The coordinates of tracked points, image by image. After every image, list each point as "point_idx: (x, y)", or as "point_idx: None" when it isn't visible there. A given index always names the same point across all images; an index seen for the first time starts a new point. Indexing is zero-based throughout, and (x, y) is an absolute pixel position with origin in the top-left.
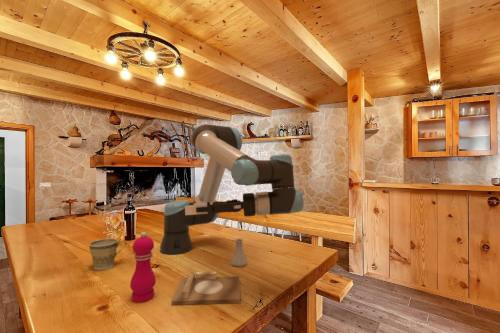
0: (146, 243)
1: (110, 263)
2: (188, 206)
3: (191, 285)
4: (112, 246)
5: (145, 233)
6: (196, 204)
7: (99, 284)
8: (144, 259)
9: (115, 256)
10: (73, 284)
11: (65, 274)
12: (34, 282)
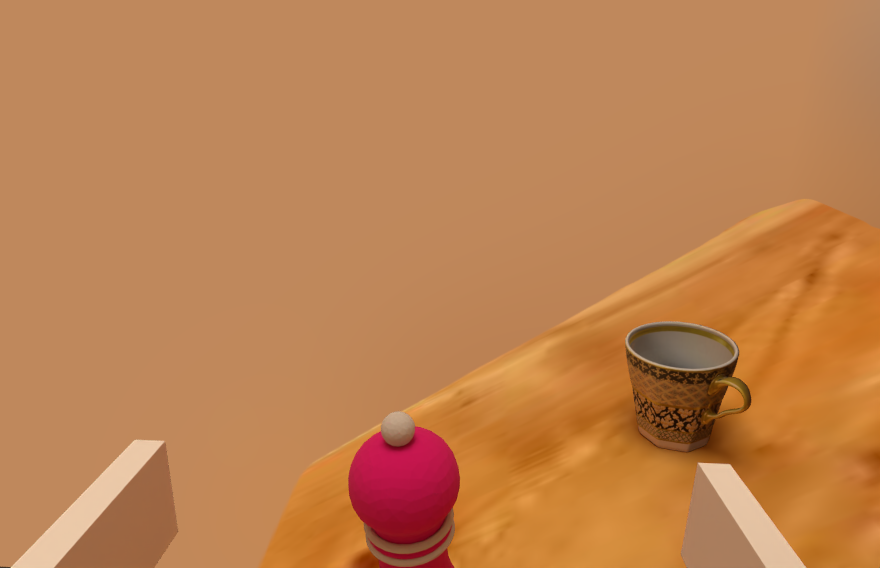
0: (357, 483)
1: (671, 436)
2: (113, 473)
3: None
4: (672, 379)
5: (392, 428)
6: (713, 504)
7: (533, 481)
8: (369, 546)
9: (704, 423)
10: (526, 424)
11: (587, 380)
12: (530, 357)
